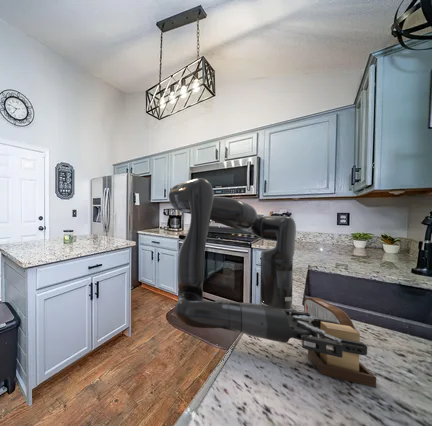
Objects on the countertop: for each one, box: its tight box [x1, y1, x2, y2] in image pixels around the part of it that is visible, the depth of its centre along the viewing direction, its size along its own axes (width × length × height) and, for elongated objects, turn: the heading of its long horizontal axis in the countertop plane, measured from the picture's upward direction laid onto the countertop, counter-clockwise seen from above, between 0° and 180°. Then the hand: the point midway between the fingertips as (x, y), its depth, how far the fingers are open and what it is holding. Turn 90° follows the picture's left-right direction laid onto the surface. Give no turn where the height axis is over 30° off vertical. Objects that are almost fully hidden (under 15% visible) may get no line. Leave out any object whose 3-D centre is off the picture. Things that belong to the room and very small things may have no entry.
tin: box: [303, 297, 356, 330], centre depth 60 cm, size 15×3×8 cm, turn 168°
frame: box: [307, 350, 377, 388], centre depth 45 cm, size 6×8×2 cm
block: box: [320, 322, 361, 372], centre depth 45 cm, size 3×5×9 cm, turn 67°
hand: (351, 337), depth 45 cm, fingers open, 8 cm apart
